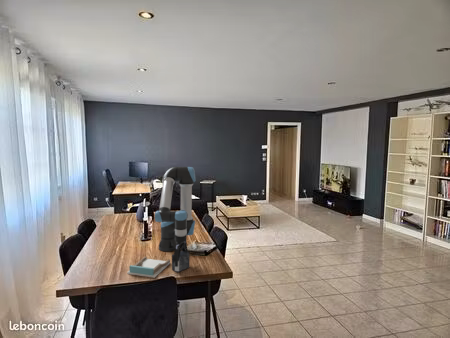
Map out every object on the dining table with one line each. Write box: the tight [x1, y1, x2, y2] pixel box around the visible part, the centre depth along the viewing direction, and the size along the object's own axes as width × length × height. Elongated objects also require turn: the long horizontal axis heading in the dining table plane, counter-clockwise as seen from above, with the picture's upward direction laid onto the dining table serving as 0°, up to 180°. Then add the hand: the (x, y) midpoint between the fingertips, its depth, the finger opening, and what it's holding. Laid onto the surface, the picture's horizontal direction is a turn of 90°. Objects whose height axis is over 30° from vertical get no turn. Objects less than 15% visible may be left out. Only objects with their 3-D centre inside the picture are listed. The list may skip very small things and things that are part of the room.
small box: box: [171, 251, 190, 274], centre depth 185 cm, size 11×6×10 cm, turn 140°
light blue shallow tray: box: [126, 256, 171, 279], centre depth 185 cm, size 22×19×5 cm
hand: (180, 266), depth 186 cm, fingers closed on small box, 12 cm apart
